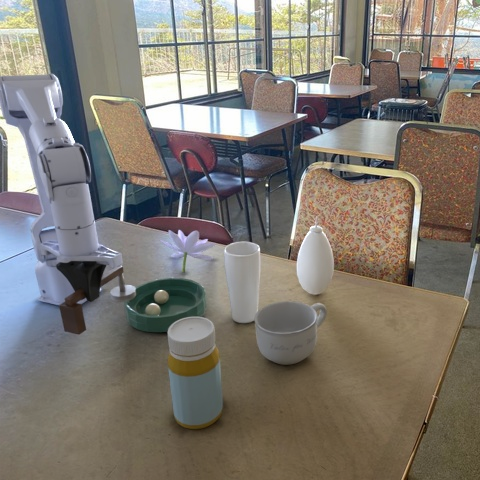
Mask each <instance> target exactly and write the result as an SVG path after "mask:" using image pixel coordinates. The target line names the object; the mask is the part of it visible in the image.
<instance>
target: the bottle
mask: <svg viewBox="0 0 480 480" xmlns="http://www.w3.org/2000/svg"><path fill="white" fill-rule="evenodd" d="M167 341H168V342H167V343H168V347H169V350H168V351H169V354H168V357H167V368H168V369H167V370H168V379H169V386H170V392H171V402H172V410H173V416H174V420H175V422H176V423H177V424H178V425H179V426H181V427H183V428H185V429H189V430H201V429H205V428H208V427H209V426H212V425H213V424H214V423H215V422H216V421H217V420H218V419H220V417H221V415H222V414H223V410H224V400H223V386H222V372H221V359H220V358H221V356H220V351H219V349H218V346H217V345H216V331H215V325H214V323H213V321H211V319H209V318H206V317H203V316H202V317H186V318H183V319H180V320H178V321H176V322H174V323H173V324H172V325H171V326H170V327H169V329H168V331H167Z"/></svg>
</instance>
